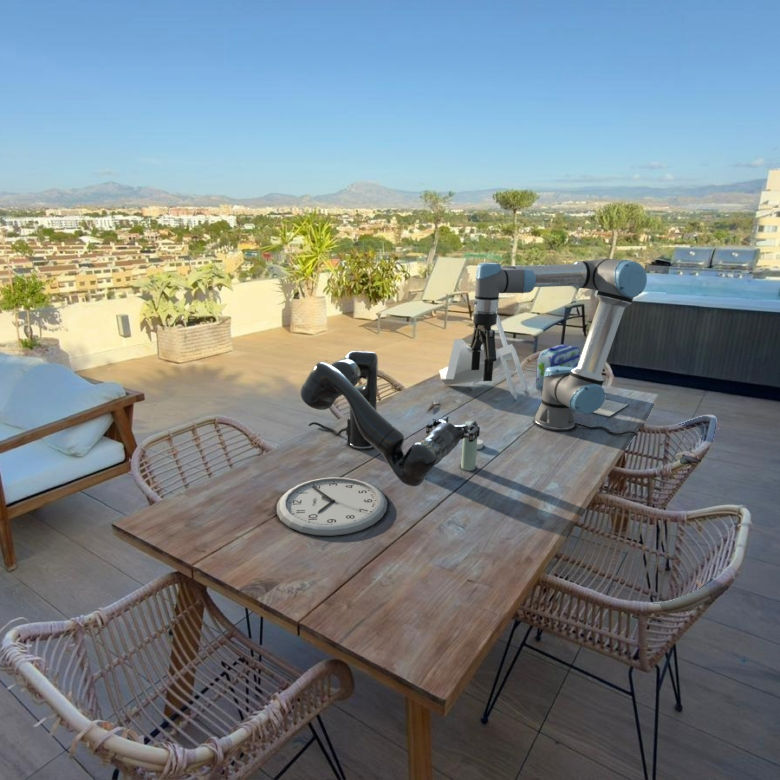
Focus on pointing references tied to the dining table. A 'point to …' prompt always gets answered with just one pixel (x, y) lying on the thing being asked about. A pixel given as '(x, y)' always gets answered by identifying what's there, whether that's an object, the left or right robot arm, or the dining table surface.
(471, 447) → the pale green cylinder
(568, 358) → the lunch box
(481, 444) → the lid
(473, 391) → the dining table surface
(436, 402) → the fork
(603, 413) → the invitation card
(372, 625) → the dining table surface
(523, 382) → the white plastic object
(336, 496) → the wall clock
